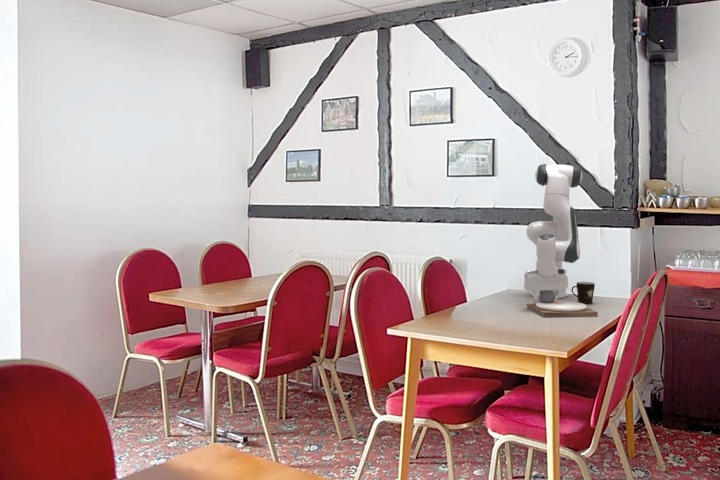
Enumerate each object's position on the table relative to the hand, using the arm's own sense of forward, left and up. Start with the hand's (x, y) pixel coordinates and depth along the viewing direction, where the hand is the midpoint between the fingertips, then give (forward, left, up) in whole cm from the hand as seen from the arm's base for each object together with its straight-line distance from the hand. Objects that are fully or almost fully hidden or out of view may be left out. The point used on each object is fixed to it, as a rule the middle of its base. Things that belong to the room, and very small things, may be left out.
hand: (545, 299), depth 326 cm
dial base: (+7, +5, -5) cm, 10 cm away
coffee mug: (-16, +24, -5) cm, 29 cm away
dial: (+6, +5, -2) cm, 8 cm away
